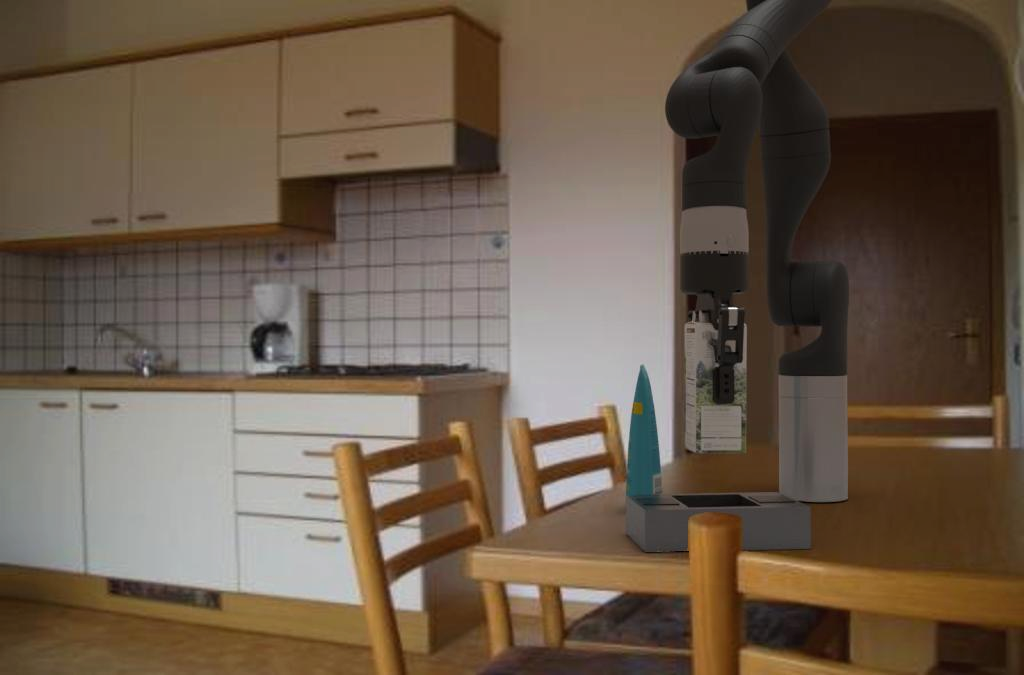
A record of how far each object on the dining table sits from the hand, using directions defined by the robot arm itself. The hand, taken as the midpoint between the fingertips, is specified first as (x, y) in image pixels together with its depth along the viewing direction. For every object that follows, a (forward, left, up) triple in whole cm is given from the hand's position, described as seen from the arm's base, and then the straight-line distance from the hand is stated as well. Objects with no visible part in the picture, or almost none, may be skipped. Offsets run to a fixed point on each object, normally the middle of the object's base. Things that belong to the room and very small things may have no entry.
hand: (714, 401), depth 108 cm
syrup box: (0, 0, -6) cm, 6 cm away
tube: (-19, -4, -16) cm, 25 cm away
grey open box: (0, 0, -16) cm, 16 cm away
